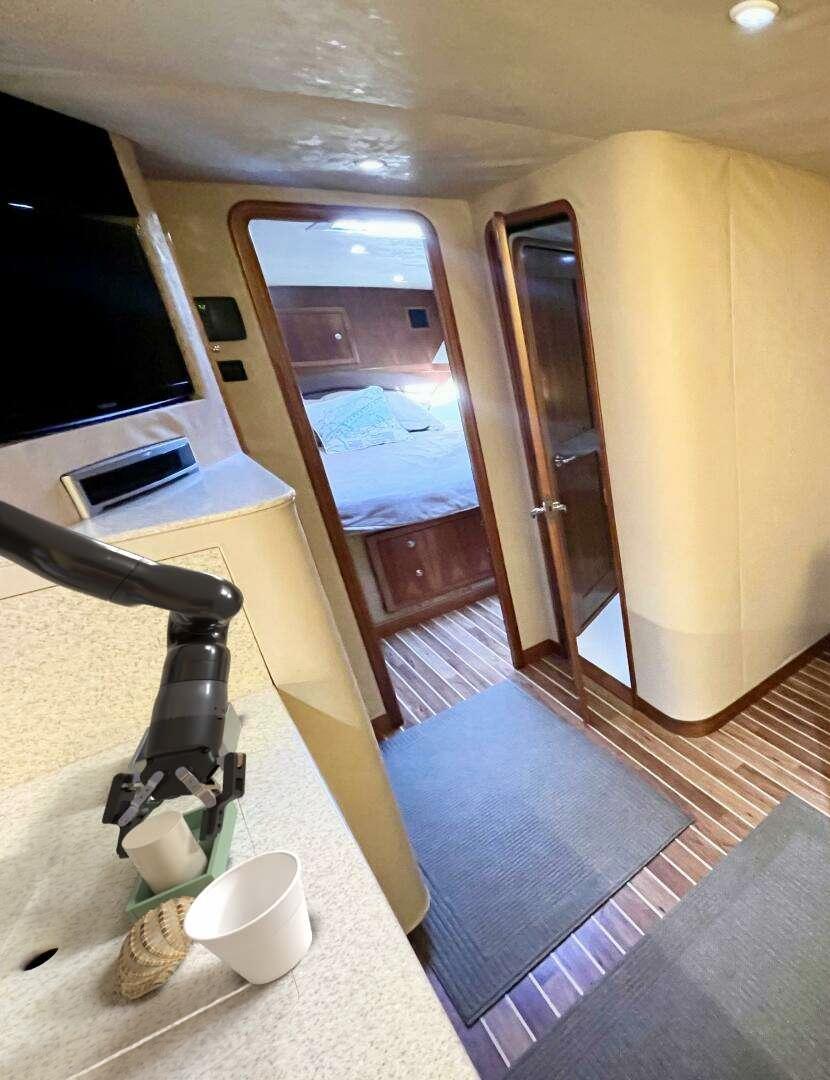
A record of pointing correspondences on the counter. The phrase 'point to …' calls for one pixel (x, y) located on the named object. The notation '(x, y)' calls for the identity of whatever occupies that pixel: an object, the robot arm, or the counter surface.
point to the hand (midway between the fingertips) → (169, 848)
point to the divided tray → (218, 858)
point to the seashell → (153, 948)
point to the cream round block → (165, 851)
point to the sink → (228, 745)
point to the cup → (254, 917)
